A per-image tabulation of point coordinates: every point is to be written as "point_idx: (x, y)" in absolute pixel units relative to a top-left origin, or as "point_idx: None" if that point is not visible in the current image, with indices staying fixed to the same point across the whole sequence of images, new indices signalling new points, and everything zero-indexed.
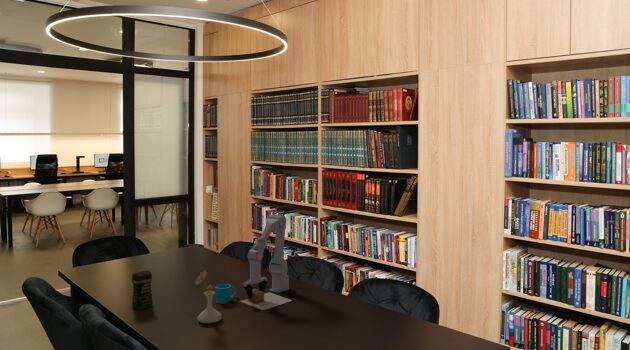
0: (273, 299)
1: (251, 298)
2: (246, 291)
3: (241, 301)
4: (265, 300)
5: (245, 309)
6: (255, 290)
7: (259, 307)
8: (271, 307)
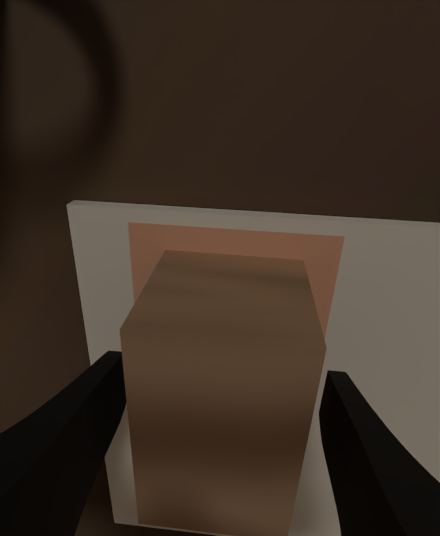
0: None
1: (125, 400)
2: (21, 430)
3: (75, 226)
4: (316, 412)
5: (19, 394)
6: (263, 416)
7: (130, 475)
8: (209, 534)
